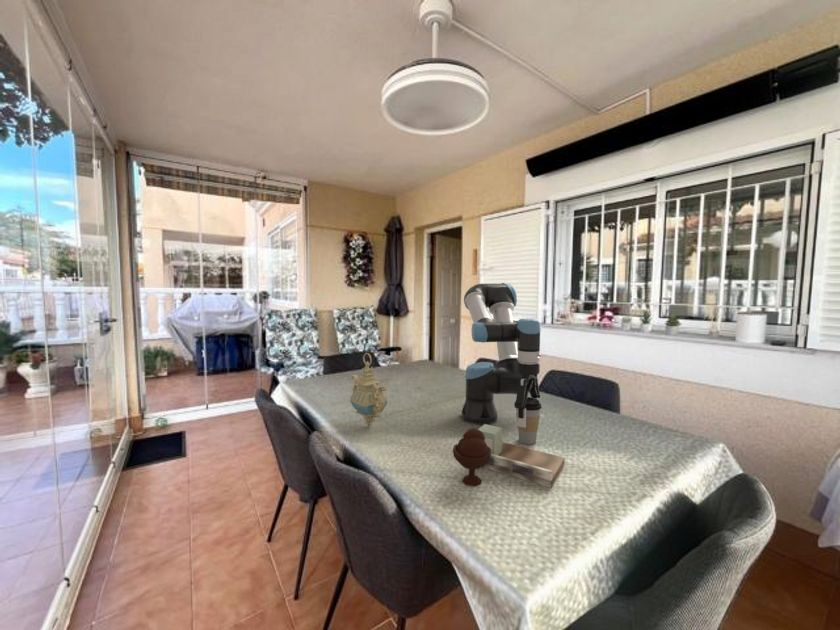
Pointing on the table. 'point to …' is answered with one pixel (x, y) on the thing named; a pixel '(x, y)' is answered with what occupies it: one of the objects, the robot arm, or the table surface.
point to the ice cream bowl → (472, 454)
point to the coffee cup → (530, 421)
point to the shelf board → (527, 464)
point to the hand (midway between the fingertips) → (527, 420)
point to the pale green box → (492, 438)
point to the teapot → (368, 395)
